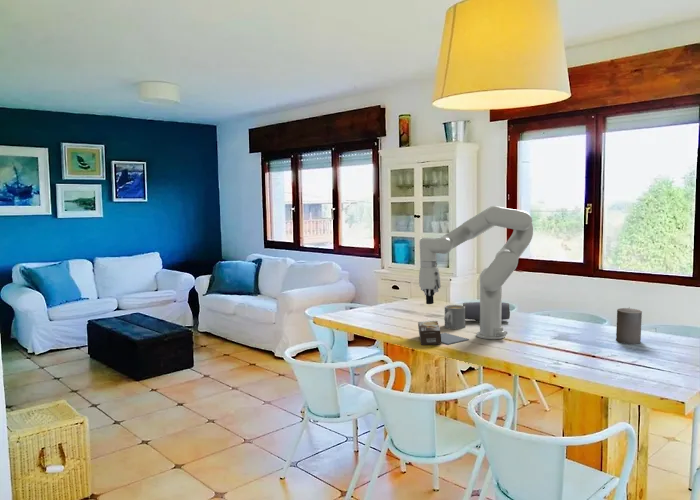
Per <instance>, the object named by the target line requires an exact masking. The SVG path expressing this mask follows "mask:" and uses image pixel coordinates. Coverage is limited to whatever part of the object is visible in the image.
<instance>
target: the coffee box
mask: <svg viewBox="0 0 700 500" xmlns="http://www.w3.org/2000/svg"><path fill="white" fill-rule="evenodd" d="M417 325H418V326H417V327H418V334H419V335H418V336H419V339H420V345H421V346H432V345H441V344H442V343H441V334H442V333H441V328H440V325H439V322H438V320H428V321H426V320H425V321H424V320H423V321H418V322H417Z"/></svg>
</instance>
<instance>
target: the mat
mask: <svg viewBox="0 0 700 500" xmlns="http://www.w3.org/2000/svg"><path fill="white" fill-rule="evenodd" d="M469 340H470V338H466V337H464V336H459V335H456V334H451V333H446V332H442V333H441V344H444V345H447V346H449V345H453V344H456V343H462V342H466V341H469Z"/></svg>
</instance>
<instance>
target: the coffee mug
mask: <svg viewBox="0 0 700 500" xmlns="http://www.w3.org/2000/svg"><path fill="white" fill-rule="evenodd" d="M443 319H444V328H446V329H449V328H450V330H462V329H465V328H466V319H465V306H463V305H459V304H448V305H445V306H444V318H443Z"/></svg>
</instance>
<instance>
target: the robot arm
mask: <svg viewBox="0 0 700 500" xmlns="http://www.w3.org/2000/svg"><path fill="white" fill-rule="evenodd" d="M494 227H500V228H504V229H505V228H506V229H511V230H513V231H512V233H511V235H510V237H509V238H508V239H507V241H506V242H505V244H504V245H502V247H501V248H500V249H499V251H498V252H497V253H496V254H495V257H494V259H493V260H492V262H491V263H490V264H489V265H488V267H485V268H484V269H483V270H482V271H481V272H480V275H479V302H480V322H479V331H477V332H476V334H475V335H476V338H477V337H478V338H480V339H485V340H500V339H503V338H505V337H506V336H507V335H508V331H507V330H504V327H503V326H502V320H501V303H503V301H502V300H503V299H502V296H503V295H502V294H503V293H502V286H503V285H504V284H505V283H506V282H507V280H508V279H509V278H510V276H511V275H512V274H513V273H514V271H515V270H516V269H517V267H518V264H519V258H520V257H521V256H522V255H523V253H524V252H525V250H526V249H527V248H528V247H529V245H530V243H531V241H532V239H533V236H534V225H533V217H532V215H531V214H530V213H529V212H527V211H525V210H521V209H520V210H519V209H513V208H507V207H503V206H499V205H492V206H490V207H488V208H486V209H484V210H482V211H481V212H479V213H478V214H476V215H474V216H472V217H471V218H469V219H467V220H466V221H464V222H463V223H461V224H460V225H459V226H458V227H456V228H454V229H453V230H451V231H449V232H447V233H446V234H444V235H443V236H440V238H437V237H436V238H434V237H424V238H423V237H422V238H420V239H419V260H420V261H419V263H420V264H419V266H420V267H419V272H418V273H419V274H418V284H419V288H420V291H422V292H423V293H424V296H425V301H426V302H425V304H426V305H433V304H434V296H435V294H436V293H439V289H441V277H440V275H441V274H440V271H439V270H440V269H439V267H437V266H438V262H437V254H440V255H441V254H442V255H445V254H449V253H450V252H451V251H452V250H453V249H455V248H457V247H458V246H460V245H462V244H464V243H465V242H467V241H469V240H473V239H475V238H477V237H479V236H481V235H483V234H484V233H486V232H487V231H489V230H490V229H491V230H492V229H493V228H494Z"/></svg>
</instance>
